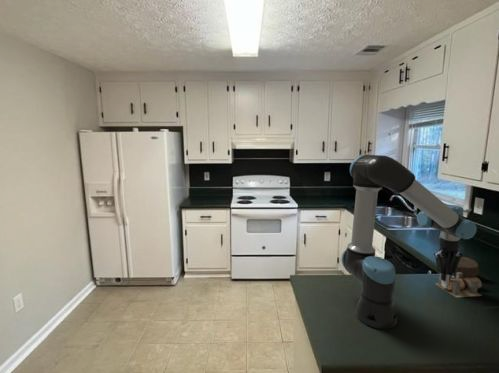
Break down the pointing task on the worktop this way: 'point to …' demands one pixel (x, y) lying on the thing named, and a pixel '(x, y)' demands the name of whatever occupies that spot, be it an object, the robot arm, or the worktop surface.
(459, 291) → the board
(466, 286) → the tube
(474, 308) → the worktop surface
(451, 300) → the worktop surface
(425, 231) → the worktop surface
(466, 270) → the rock
